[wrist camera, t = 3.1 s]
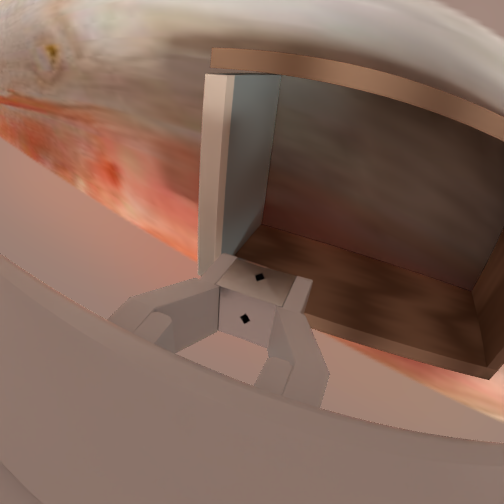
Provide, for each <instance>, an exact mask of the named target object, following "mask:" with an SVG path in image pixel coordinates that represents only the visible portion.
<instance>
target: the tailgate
mask: <svg viewBox="0 0 504 504" xmlns="http://www.w3.org/2000/svg"><path fill="white" fill-rule="evenodd" d="M280 82H281V75H277V74H269V73H216V74H214V73H213V74H205V85H204V99H203V114H202V131H201V151H200V175H199V208H198V275H200V276H202V275H203V274H204V273H205V272H206V271H207V270H208V268H209V267H210V266H211V265H212V264H213V263H214V262H215V260H216V259H217V258H218V257H219V256H220V255H221V254H223V253H227V254H230V255H233V256H234V255H235V254H236V253H237V252H238V250H239V249H240V248H241V247H242V246H243V245H244V243H245V242H246V241H247V240H248V239H249V238H250V236H251V235H252V234H253V233H254V232H255V231H256V229H257V228H258V227H259V226H260V225H261V224H262V219H263V212H264V204H265V197H266V189H267V182H268V174H269V167H270V159H271V151H272V144H273V136H274V129H275V121H276V113H277V106H278V98H279V90H280Z"/></svg>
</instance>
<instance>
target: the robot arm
mask: <svg viewBox="0 0 504 504" xmlns="http://www.w3.org/2000/svg"><path fill="white" fill-rule="evenodd" d="M312 283H313V280H311V279H307V278H304V277H300V276H295V275H291V274H288V273H285V272H281V271H278V270H275V269H271V268H268V267H266V266H263V265H260V264H257V263H254V262H251V261H248V260H245V259H242V258H238V257H236V256H233V255H230V254H227V253H223V254H221V255H220V256H219V257H218V258H217V259H216V260H215V262H214V263H213V264H212V265H211V266H210V267H209V268H208V270H207V271H206V272H205V273H204V274H203V275H202V276H201V278H200V279H197V278H193V279H189V280H187V281H183V282H180V283H176V284H173V285H170V286H166V287H163V288H160V289H157V290H153V291H150V292H146V293H143V294H140V295H136V296H133V297H130V298H129V299H128V300H127V301H126V302H125V303H124V304H123V305H121V306H120V307H119V308H118V310H116V311H115V312H114V314H112V315H111V316H110V317H109V318H108V319H104V318H103V317H101V316H99V315H97V314H96V313H94V312H92V311H90V310H88V309H87V308H85V307H83V306H81V305H80V304H78V303H76V302H75V301H73V300H71V299H69V298H68V297H66V296H64V295H63V294H61V293H60V292H58V291H56V290H55V289H53V288H51V287H50V286H48V285H47V284H45V283H44V282H42V281H40V280H39V279H37V278H36V277H34V276H33V275H31V274H30V273H28V272H27V271H25V270H24V269H22V268H21V267H19V266H18V265H16V264H15V263H13V262H12V261H11V260H9V259H8V258H6V257H5V256H3V255H2V254H1V253H0V504H504V443H496V442H485V441H476V440H468V439H460V438H453V437H446V436H440V435H434V434H428V433H422V432H417V431H412V430H406V429H402V428H397V427H392V426H387V425H383V424H379V423H375V422H370V421H366V420H362V419H358V418H354V417H350V416H347V415H343V414H340V413H336V412H332V411H329V410H325V409H322V408H320V406H321V403H322V399H323V396H324V392H325V389H326V386H327V382H328V378H329V375H330V373H329V371H328V368H327V366H326V363H325V361H324V359H323V356H322V354H321V351H320V349H319V347H318V344H317V342H316V339H315V337H314V335H313V332H312V330H311V328H310V325H309V323H308V321H307V318H306V316H305V315H304V311H305V308H306V305H307V301H308V298H309V294H310V291H311V287H312ZM217 330H218V331H221V332H224V333H227V334H230V335H233V336H236V337H239V338H242V339H245V340H247V341H249V342H252V343H254V344H257V345H260V346H262V347H265V348H267V351H268V356H269V358H268V359H267V360H266V362H265V364H264V366H263V369H262V370H261V372H260V374H259V376H258V379H257V380H256V383H255V384H254V386H253V385H250V384H247V383H245V382H242V381H239V380H236V379H234V378H232V377H229V376H227V375H224V374H222V373H219V372H217V371H214V370H212V369H209V368H207V367H205V366H202V365H200V364H198V363H195V362H193V361H191V360H188V359H186V358H184V357H181V356H179V355H177V354H176V353H177V352H179V351H181V350H183V349H185V348H187V347H189V346H191V345H193V344H194V343H196V342H198V341H200V340H202V339H204V338H206V337H208V336H210V335H212V334H214V333H215V332H217Z"/></svg>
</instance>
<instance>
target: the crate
mask: <svg viewBox="0 0 504 504" xmlns="http://www.w3.org/2000/svg"><path fill="white" fill-rule="evenodd" d="M210 68H223V69H236V70H247V71H256V72H265V73H273V74H280V75H287V76H293V77H300V78H306V79H311V80H317V81H322V82H327V83H332V84H336V85H341V86H345V87H350V88H354V89H358V90H362V91H366V92H370V93H374V94H378V95H381V96H385V97H388V98H392V99H395V100H399V101H402V102H405V103H408V104H411V105H414V106H417V107H420V108H423V109H426V110H429V111H432V112H435V113H438V114H440V115H443V116H446V117H448V118H451V119H454V120H456V121H459V122H461V123H464V124H466V125H468V126H471V127H473V128H475V129H478V130H480V131H482V132H485V133H487V134H489V135H491V136H493V137H495V138H498V139H500V140H502V141H504V117H503V116H501V115H499V114H497V113H495V112H492V111H490V110H488V109H486V108H484V107H481V106H479V105H477V104H475V103H472V102H470V101H468V100H465V99H463V98H460V97H458V96H455V95H453V94H450V93H447V92H445V91H442V90H439V89H436V88H434V87H431V86H428V85H425V84H422V83H419V82H416V81H413V80H409V79H406V78H403V77H400V76H396V75H393V74H389V73H385V72H382V71H378V70H374V69H370V68H366V67H362V66H357V65H353V64H348V63H343V62H339V61H333V60H328V59H323V58H317V57H311V56H304V55H297V54H290V53H282V52H273V51H263V50H251V49H235V48H212V52H211V64H210ZM234 256H236V257H238V258H242V259H245V260H248V261H251V262H254V263H257V264H260V265H263V266H266V267H268V268H271V269H275V270H278V271H281V272H285V273H288V274H291V275H295V276H300V277H304V278H307V279H311V280H313V283H312V287H311V291H310V294H309V298H308V301H307V305H306V308H305V311H304V315H305V316H306V318H307V321H308V323H309V325H310V328H312V329H315V330H318V331H321V332H324V333H327V334H331V335H334V336H337V337H340V338H343V339H346V340H349V341H352V342H355V343H359V344H362V345H365V346H368V347H372V348H375V349H378V350H381V351H385V352H388V353H391V354H395V355H398V356H402V357H405V358H408V359H412V360H415V361H419V362H422V363H426V364H430V365H433V366H437V367H441V368H444V369H448V370H452V371H456V372H459V373H463V374H467V375H471V376H475V377H479V378H483V379H487V380H490V379H491V377H492V376H493V375H494V374H495V373H496V372H497V371H498V370H499V368H500V367H501V366H502V365H503V364H504V228H503V230H502V232H501V235H500V237H499V239H498V241H497V243H496V245H495V247H494V250H493V252H492V254H491V256H490V258H489V260H488V262H487V264H486V266H485V268H484V269H483V271H482V273H481V275H480V277H479V279H478V281H477V283H476V284H475V286H474V288H473V290H472V291H468V290H465V289H463V288H460V287H457V286H454V285H451V284H448V283H445V282H442V281H439V280H436V279H433V278H431V277H428V276H425V275H422V274H419V273H416V272H413V271H410V270H407V269H404V268H401V267H397V266H394V265H391V264H388V263H385V262H382V261H379V260H376V259H373V258H370V257H367V256H363V255H360V254H357V253H354V252H351V251H348V250H345V249H341V248H338V247H335V246H332V245H329V244H325V243H322V242H319V241H316V240H312V239H309V238H306V237H302V236H299V235H296V234H293V233H289V232H286V231H283V230H279V229H276V228H272V227H269V226H266V225H262V224H261V225H260V226H259V227H258V228H257V229H256V231H255V232H254V233H253V234H252V235H251V236H250V238H249V239H248V240H247V241H246V242H245V243H244V245H243V246H242V247H241V248H240V249H239V250H238V252H237V253H236V254H235V255H234Z"/></svg>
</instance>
